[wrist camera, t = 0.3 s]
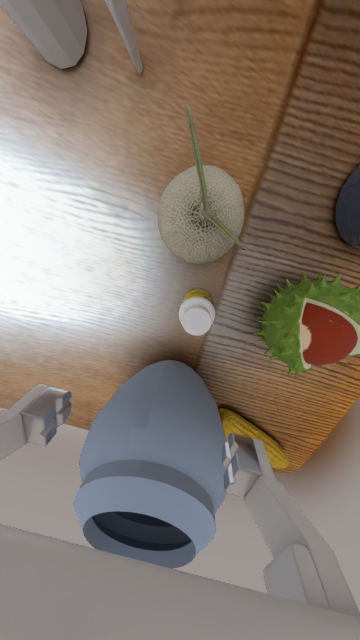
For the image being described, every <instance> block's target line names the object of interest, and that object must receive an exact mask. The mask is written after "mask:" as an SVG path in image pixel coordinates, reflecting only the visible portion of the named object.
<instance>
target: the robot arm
mask: <svg viewBox="0 0 360 640" xmlns="http://www.w3.org/2000/svg"><path fill="white" fill-rule="evenodd" d="M70 398H71V392H68V391H64V390H61V389H57V388H54V387H50V386H47V385H43V384H39V385H36V386H35V387H34V388H33V389H32V390H30V391H29V392H28V393H27V394H26V395H25V396H23V397H22V398H21V399H20V400H19V401H18V402H16V403H15V404H14V405H13V406H12V407H11V408H9V409H8V410H7V411H5V410H3V411H0V460H2V459H4V458H5V457H7V456H8V455H10V454H11V453H13V452H15V451H16V450H18V449H19V448H21V447H22V446H23V445H25V444H27V443H31V444H36V445H40V446H46V445H47V444H48V443H49V441H50V440H51V439H52V437H53V436H54V435H55V434H56V428H57V427H58V426H60V425H62V424H63V423H64V422H65V420H66V419H67V418H68V416H69V413H70V411H71V402H70V401H69V399H70ZM222 465H223V466H224V468H225V470H226V471H225V473H224V475H223V477H224V487H225V493H228V494H231V495H235V496H238V497H242V498H244V499H243V500H244V501H245V503H246V505H247V507H248V509H249V511H250V513H251V515H252V517H253V519H254V521H255V523H256V525H257V527H258V529H259V531H260V533H261V535H262V537H263V539H264V540H265V542H266V545H267V547H268V548H269V551H270V553H271V555H272V557H273V558H274V560H273V561H272V562H271V563H269V564H268V565H267V566H266V567H265V569H264V571H263V573H264V578H265V583H266V589H267V593H263V592H259V591H255V590H251V589H248V588H244V587H240V586H236V585H232V584H229V583H225V582H221V581H217V580H213V579H209V578H205V577H202V576H198V575H194V574H190V573H186V572H182V571H178V570H175V569H171V568H167V567H163V566H159V565H156V564H152V563H148V562H144V561H140V560H136V559H132V558H129V557H125V556H121V555H117V554H113V553H109V552H106V551H102V550H98V549H94V548H90V547H86V546H82V545H79V544H75V543H70V542H67V541H63V540H59V539H56V538H52V537H48V536H44V535H40V534H36V533H32V532H29V531H25V530H21V529H17V528H13V527H10V526H6V525H2V524H0V640H360V612H359V610H358V608H357V605H356V603H355V601H354V598H353V596H352V594H351V591H350V589H349V587H348V584H347V582H346V580H345V578H344V575H343V573H342V570H341V568H340V566H339V563H338V561H337V559H336V557H335V554H334V552H333V550H332V549H331V548H330V546H329V545H328V544H327V543H326V541H325V540H324V539H323V537H322V536H321V535H320V534H319V532H318V531H317V530H316V528H315V527H314V526H313V525H312V523H311V522H310V521H309V519H308V518H307V517H306V515H305V514H304V513H303V511H302V510H301V509H300V508H299V506H298V505H297V504H296V502H295V501H294V500H293V499H292V497H291V496H290V495H289V493H288V492H287V491H286V489H285V488H284V487H283V486H282V484H281V483H280V482H279V481H278V480H275V477H274V474H273V471H272V468H271V465H270V462H269V459H268V455H267V452H266V449H265V446H264V443H263V441H262V440H259V439H255V438H251V437H248V436H244V435H240V434H235V433H230V434H229V436H228V441H227V442H225V444H224V446H223V449H222Z"/></svg>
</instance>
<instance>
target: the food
mask: <svg viewBox="0 0 360 640" xmlns="http://www.w3.org/2000/svg"><path fill="white" fill-rule="evenodd" d="M218 412H219V415H220V418H221V422H222V425H223V428H224V432H225V435H226V438H227V441H228V436H229V434H230V433H235V434H240V435H244V436H248V437H251V438H255V439H259V440H262V441H263V443H264V446H265V449H266V452H267V455H268V459H269V462H270V465H271V466H273V467H276V468H281V469H282V468H285V467H287V465H288V463H289V460H288V457H287V455H286V453H285V451H284V450H283V448H282V447H281V446H280V445H279V444H278V443H276V441H274V440H273V439H272V438H271V437H269V436H268V435H266V434H265V433H264V432H263V431H261V430H260V429H258V428H257V427H255V426H254V425H252V424H251V423H249V422H248V421H246V420H245V419H244V418H242V417H241V416H239V415H237V414H236V413H234V412H233V411H230V410H228V409H225V408H221V409H220V410H219V411H218Z"/></svg>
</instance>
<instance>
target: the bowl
mask: <svg viewBox="0 0 360 640" xmlns="http://www.w3.org/2000/svg"><path fill="white" fill-rule="evenodd" d="M336 225H337V228H338V231H339V234H340V236H341V237H342V238H343V239H344V240H345V241H346V242H347V243H348V244H349V245H351V246H353V247H355V248H358V249H360V165H359V166H358V167H357V168H356V169H355V170H354V171H353V172H352V173H351V174H350V176H349V178H348V179H347V181H346V183H345V184H344V186H343V188H342V189H341V192H340V195H339V198H338V202H337V205H336Z"/></svg>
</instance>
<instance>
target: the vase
mask: <svg viewBox="0 0 360 640" xmlns="http://www.w3.org/2000/svg"><path fill="white" fill-rule="evenodd" d="M225 442H227V438H226V435H225V432H224V428H223V425H222V422H221V418H220V415H219V412H218V408H217V405H216V402H215V401H214V399H213V397H212V395H211V394H210V392H209V390H208V388H207V387H206V385H205V383H204V381H203V380H202V378H201V377H200V376H199V375H198V374H197V373H196V372H195V371H194V370H193V369H192V368H190V367H189V366H188V365H186V364H184V363H182V362H179V361H175V360H164V361H160V362H156V363H153V364H151V365H148V366H146V367H145V368H143V369H142V370H141V371H139V372H138V373H137V374H135V375H134V376H132V377H131V378H130V379H128V380H127V381H126V382H125V383H124V384H123V385H122V386H121V387H120V388H119V389H118V390H117V392H116V393H115V394H114V395H113V396H112V398H111V399H110V400H109V401H108V402H107V403H106V405H105V406H104V407H103V408H102V409H101V411H100V412H99V413H98V414H97V415H96V416H95V418H94V420H93V422H92V425H91V427H90V430H89V433H88V436H87V438H86V441H85V444H84V447H83V450H82V452H81V455H80V462H79V466H80V473H81V479H82V485H81V487H80V488H79V490H78V492H77V494H76V496H75V499H74V507H75V511H76V514H77V516H78V519H79V521H80V524H81V526H82V529H83V533H84V536H85V538H86V539H87V541H88V542H89V543H90V544H91V545H92V546H93V547H94V548H95V549H98V550H102V551H106V552H109V553H113V554H117V555H121V556H125V557H129V558H132V559H136V560H140V561H144V562H148V563H152V564H156V565H159V566H163V567H167V568H171V569H173V568H177V567H181V566H184V565H186V564H188V563H189V562H191V561H192V560H193V559H194V558H195V556H196V555H197V554H198V553H199V552H200V551H201V550H202V549H204V548H205V547H206V546H207V545H208V544H209V543H210V542H211V540H212V539H213V538H214V535H215V532H216V524H215V513H216V511H217V509H218V508H219V507H220V505H221V504H222V502H223V501H224V499H225V496H226V493H225V487H224V477H223V475H224V473H225V471H226V470H225V468H224V466H223V465H222V449H223V446H224V444H225Z"/></svg>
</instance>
